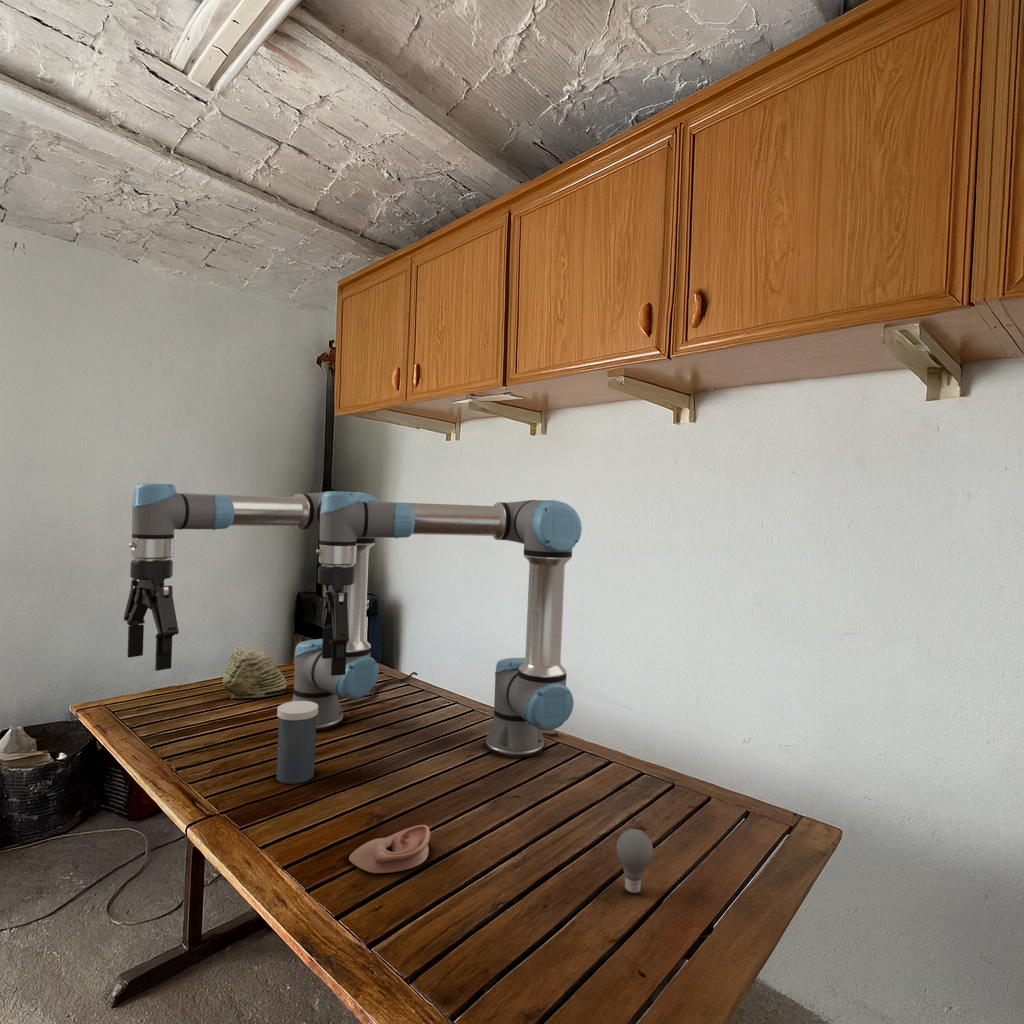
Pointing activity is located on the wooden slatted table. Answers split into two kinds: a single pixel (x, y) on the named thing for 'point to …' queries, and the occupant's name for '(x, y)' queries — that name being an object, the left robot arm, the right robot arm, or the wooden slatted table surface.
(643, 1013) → the wooden slatted table surface
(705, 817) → the wooden slatted table surface
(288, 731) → the jar
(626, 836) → the light bulb
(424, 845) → the anatomical model
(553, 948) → the wooden slatted table surface
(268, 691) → the fossil
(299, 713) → the lid
